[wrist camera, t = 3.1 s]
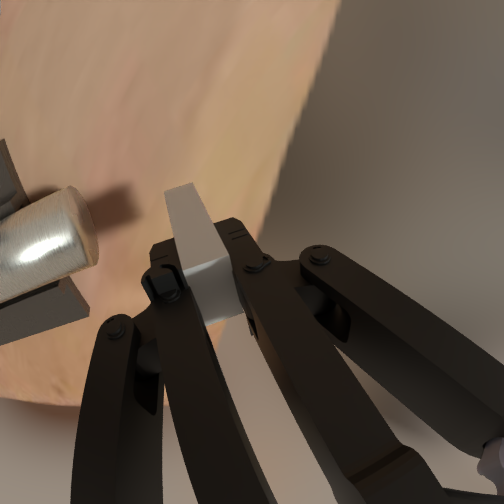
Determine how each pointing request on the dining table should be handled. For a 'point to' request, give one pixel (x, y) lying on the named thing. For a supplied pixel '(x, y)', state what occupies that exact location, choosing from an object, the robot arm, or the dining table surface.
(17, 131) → the dining table surface
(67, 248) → the tube
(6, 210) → the twin arch cradle
